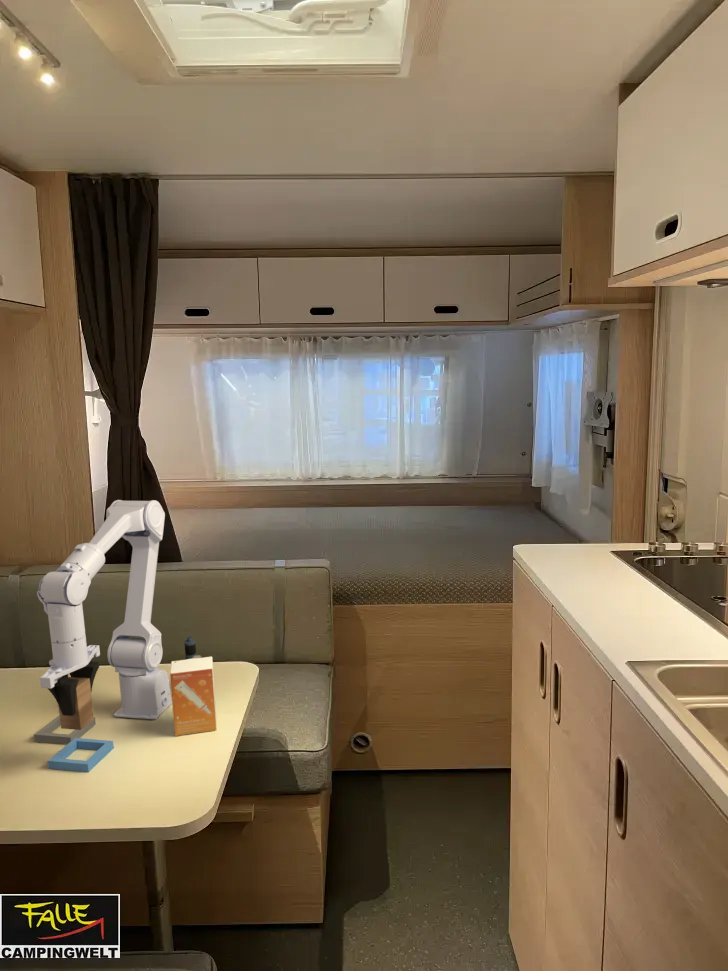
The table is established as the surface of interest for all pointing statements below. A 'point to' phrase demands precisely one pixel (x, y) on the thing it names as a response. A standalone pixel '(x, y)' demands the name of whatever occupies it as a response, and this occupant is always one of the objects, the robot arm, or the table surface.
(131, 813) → the table surface
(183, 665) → the small box
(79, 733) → the frame
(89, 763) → the blue rim cradle
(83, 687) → the walnut peg
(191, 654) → the vaping device
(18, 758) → the table surface
